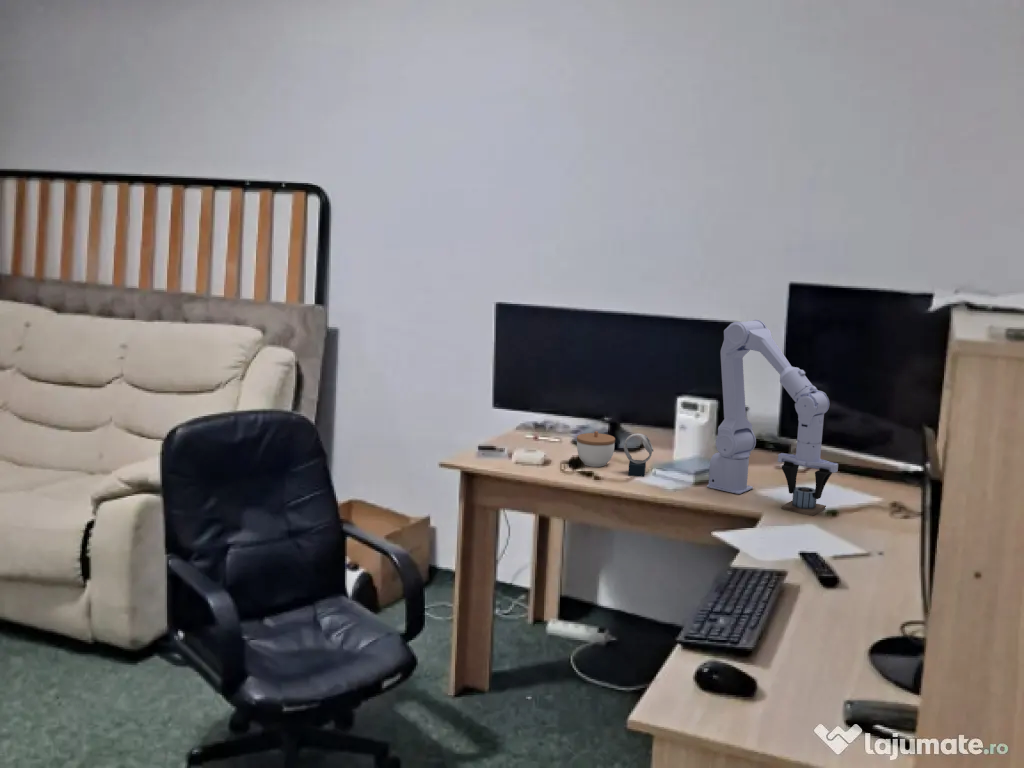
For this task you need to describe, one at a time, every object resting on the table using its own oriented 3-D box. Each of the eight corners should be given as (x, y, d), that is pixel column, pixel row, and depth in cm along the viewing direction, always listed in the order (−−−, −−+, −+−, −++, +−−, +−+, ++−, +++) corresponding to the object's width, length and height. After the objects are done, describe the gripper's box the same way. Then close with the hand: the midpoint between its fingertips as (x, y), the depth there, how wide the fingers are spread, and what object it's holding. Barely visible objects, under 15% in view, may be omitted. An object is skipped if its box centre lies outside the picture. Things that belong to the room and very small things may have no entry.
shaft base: (781, 508, 251) (782, 489, 250) (795, 502, 257) (796, 482, 256) (812, 515, 246) (814, 495, 245) (825, 508, 252) (827, 489, 251)
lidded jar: (571, 459, 292) (572, 427, 290) (607, 458, 294) (608, 426, 293) (582, 469, 282) (583, 436, 280) (619, 468, 284) (620, 435, 282)
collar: (788, 505, 251) (789, 489, 250) (797, 500, 255) (799, 485, 255) (810, 510, 248) (811, 494, 247) (819, 505, 252) (820, 489, 251)
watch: (651, 477, 276) (653, 437, 274) (621, 475, 277) (623, 435, 275) (652, 472, 281) (654, 433, 280) (623, 469, 283) (625, 431, 281)
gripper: (774, 438, 250) (770, 492, 252) (831, 449, 241) (826, 504, 243) (786, 434, 255) (782, 487, 258) (843, 444, 246) (838, 498, 249)
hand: (804, 495), depth 251 cm, fingers open, 6 cm apart
